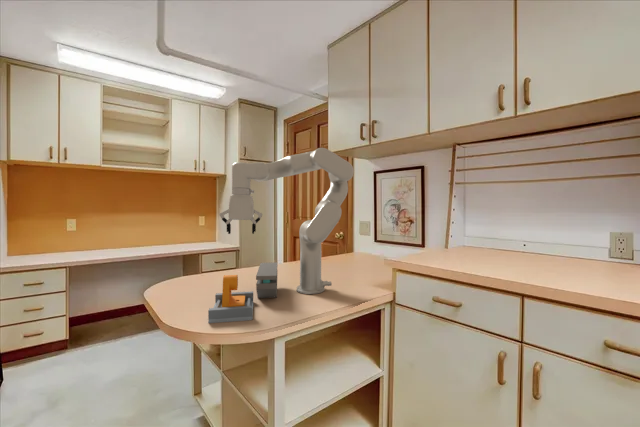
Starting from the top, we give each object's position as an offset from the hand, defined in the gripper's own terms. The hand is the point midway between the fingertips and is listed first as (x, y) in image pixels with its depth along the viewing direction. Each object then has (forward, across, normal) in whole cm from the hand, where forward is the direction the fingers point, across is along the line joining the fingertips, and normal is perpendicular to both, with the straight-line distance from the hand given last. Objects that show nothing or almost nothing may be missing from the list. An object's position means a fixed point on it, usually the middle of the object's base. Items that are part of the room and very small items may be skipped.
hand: (241, 233), depth 122 cm
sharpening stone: (+27, -11, -1) cm, 29 cm away
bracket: (+25, +2, +18) cm, 31 cm away
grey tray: (+26, +2, +18) cm, 32 cm away
